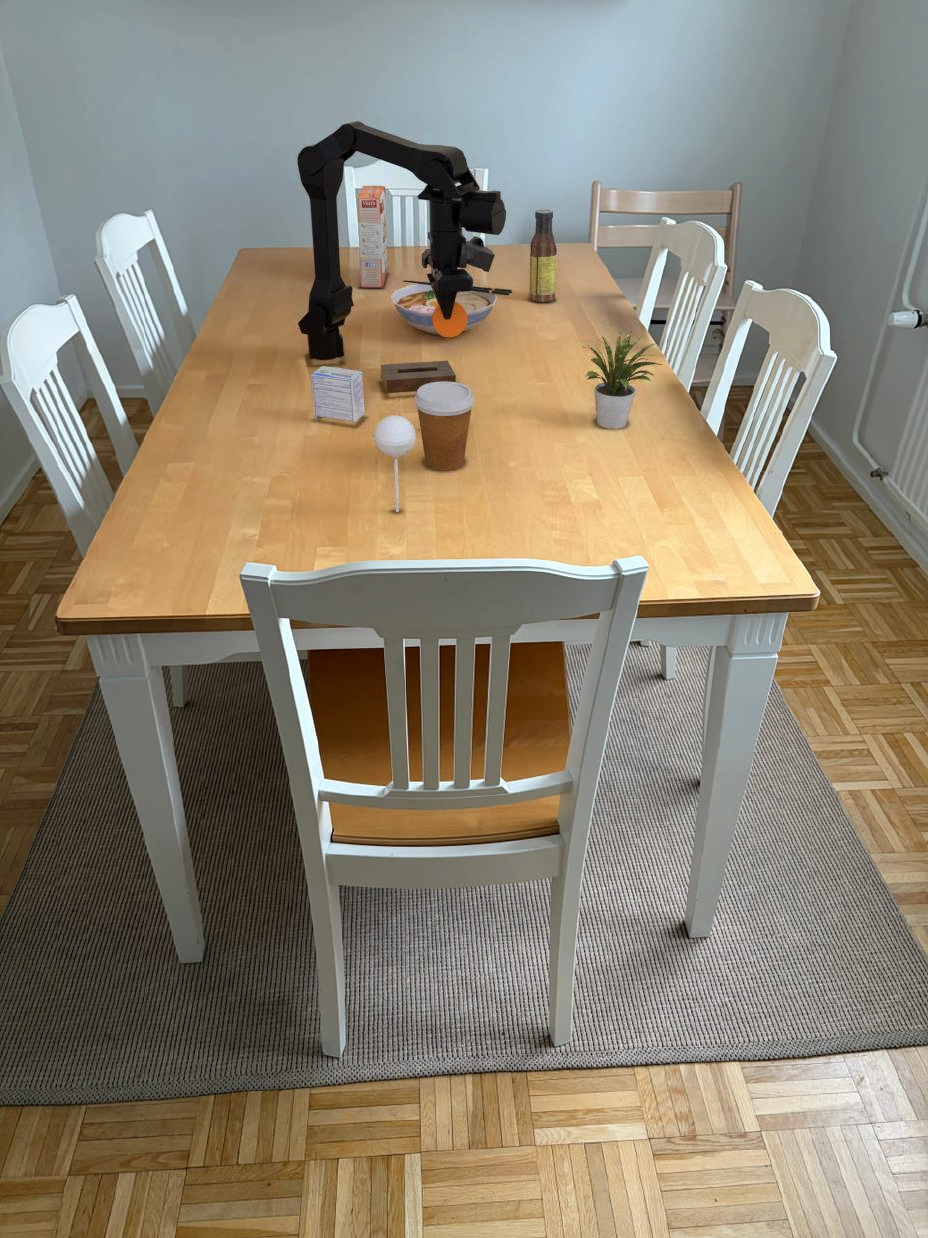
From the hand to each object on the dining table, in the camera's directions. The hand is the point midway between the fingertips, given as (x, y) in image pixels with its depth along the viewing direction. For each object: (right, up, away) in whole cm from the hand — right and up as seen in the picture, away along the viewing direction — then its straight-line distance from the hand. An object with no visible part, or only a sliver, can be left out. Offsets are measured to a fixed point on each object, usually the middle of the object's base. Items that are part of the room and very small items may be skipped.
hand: (446, 317), depth 175 cm
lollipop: (-7, -40, -33) cm, 52 cm away
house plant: (+29, -21, -7) cm, 36 cm away
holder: (-6, -11, +6) cm, 14 cm away
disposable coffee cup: (0, -30, -20) cm, 36 cm away
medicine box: (-19, -20, -6) cm, 28 cm away
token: (0, -3, +2) cm, 4 cm away
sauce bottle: (+22, +20, +52) cm, 60 cm away
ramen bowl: (-1, +7, +33) cm, 33 cm away
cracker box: (-19, +29, +63) cm, 72 cm away
